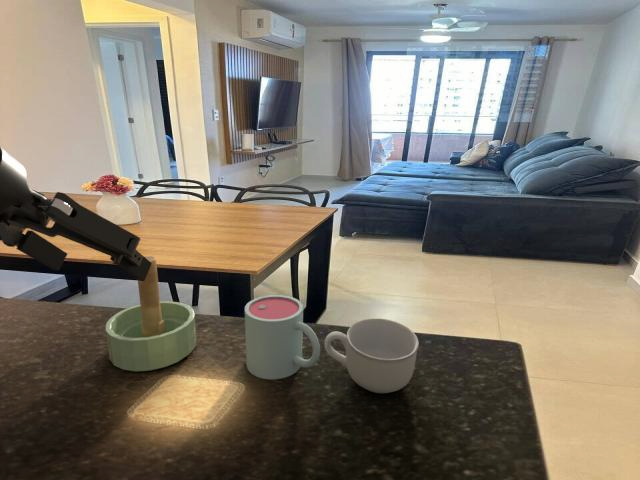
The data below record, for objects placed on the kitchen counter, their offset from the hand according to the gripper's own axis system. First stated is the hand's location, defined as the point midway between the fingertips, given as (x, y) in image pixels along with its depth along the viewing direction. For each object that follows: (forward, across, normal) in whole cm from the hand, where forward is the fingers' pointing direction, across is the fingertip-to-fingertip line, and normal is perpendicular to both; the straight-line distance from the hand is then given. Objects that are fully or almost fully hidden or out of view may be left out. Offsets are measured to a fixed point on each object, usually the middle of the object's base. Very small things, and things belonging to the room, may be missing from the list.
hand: (102, 266), depth 53 cm
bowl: (+19, 0, -7) cm, 20 cm away
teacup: (+20, +37, -6) cm, 43 cm away
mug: (+20, +24, -6) cm, 31 cm away
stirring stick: (+18, +1, -7) cm, 19 cm away
